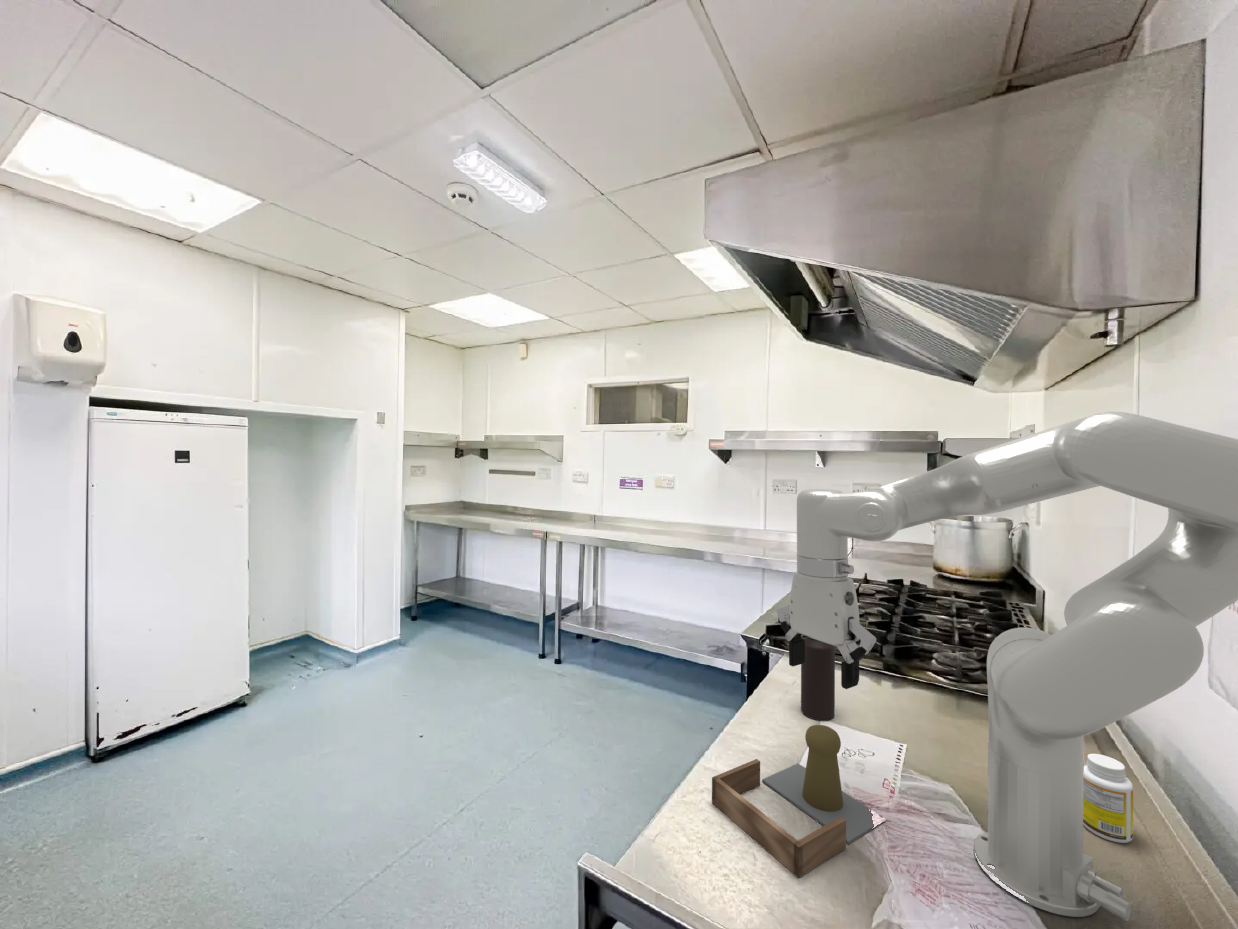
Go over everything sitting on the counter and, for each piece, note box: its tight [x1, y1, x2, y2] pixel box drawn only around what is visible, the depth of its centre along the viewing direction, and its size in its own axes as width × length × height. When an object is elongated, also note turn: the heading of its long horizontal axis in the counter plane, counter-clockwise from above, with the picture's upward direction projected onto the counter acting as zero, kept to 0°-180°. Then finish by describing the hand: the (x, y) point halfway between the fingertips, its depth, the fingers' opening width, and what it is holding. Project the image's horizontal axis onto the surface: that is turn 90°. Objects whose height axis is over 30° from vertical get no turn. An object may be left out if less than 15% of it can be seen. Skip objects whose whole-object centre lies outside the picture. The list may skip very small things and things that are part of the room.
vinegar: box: [800, 636, 836, 722], centre depth 107 cm, size 7×7×20 cm
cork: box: [802, 724, 843, 812], centre depth 79 cm, size 6×6×11 cm
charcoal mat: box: [761, 763, 874, 845], centre depth 79 cm, size 16×9×1 cm, turn 31°
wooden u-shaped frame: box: [711, 758, 847, 879], centre depth 74 cm, size 17×10×4 cm, turn 31°
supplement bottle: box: [1083, 753, 1134, 844], centre depth 73 cm, size 6×6×10 cm
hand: (822, 675), depth 79 cm, fingers open, 9 cm apart
